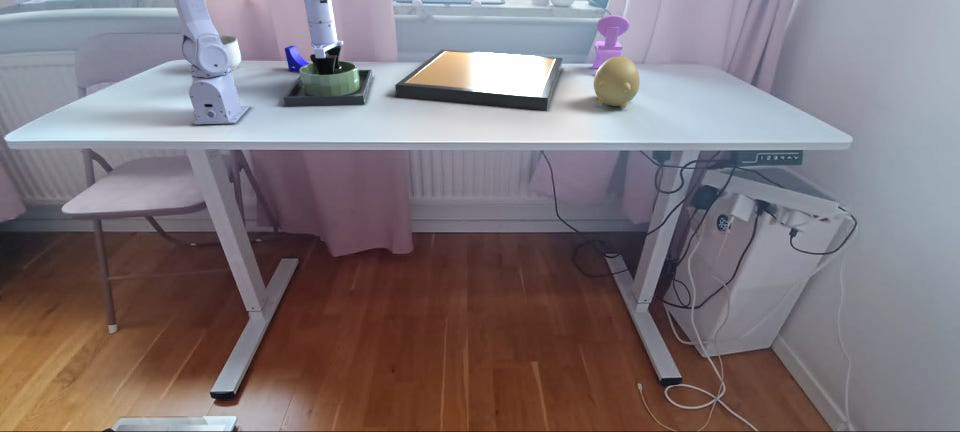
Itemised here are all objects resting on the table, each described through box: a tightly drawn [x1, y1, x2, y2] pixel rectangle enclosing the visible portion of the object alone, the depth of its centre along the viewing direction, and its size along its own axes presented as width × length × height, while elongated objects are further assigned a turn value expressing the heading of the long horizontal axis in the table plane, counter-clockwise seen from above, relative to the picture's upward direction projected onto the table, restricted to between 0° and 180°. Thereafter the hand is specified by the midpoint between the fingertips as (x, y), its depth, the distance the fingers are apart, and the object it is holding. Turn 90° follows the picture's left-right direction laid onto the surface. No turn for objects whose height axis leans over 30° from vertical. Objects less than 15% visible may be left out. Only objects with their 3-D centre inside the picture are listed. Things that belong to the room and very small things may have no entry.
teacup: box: [219, 34, 242, 72], centre depth 123 cm, size 14×11×8 cm
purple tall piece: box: [591, 14, 630, 76], centre depth 123 cm, size 8×9×15 cm
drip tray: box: [283, 69, 373, 107], centre depth 111 cm, size 21×17×2 cm
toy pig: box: [593, 55, 641, 109], centre depth 103 cm, size 10×12×11 cm
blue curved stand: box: [284, 45, 311, 73], centre depth 124 cm, size 12×4×6 cm, turn 73°
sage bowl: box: [299, 60, 360, 96], centre depth 110 cm, size 13×13×6 cm
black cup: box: [317, 64, 342, 75], centre depth 110 cm, size 6×6×5 cm
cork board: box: [394, 49, 563, 112], centre depth 118 cm, size 36×3×35 cm
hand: (331, 81), depth 110 cm, fingers closed on black cup, 5 cm apart
